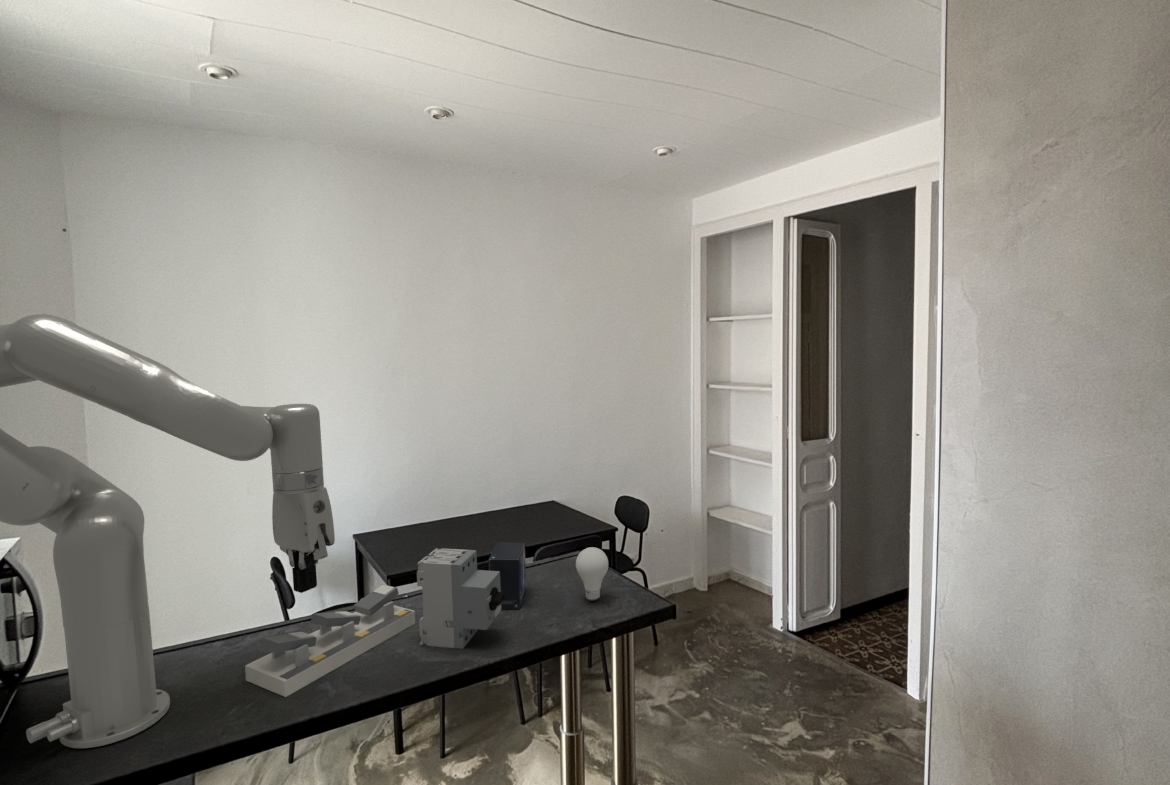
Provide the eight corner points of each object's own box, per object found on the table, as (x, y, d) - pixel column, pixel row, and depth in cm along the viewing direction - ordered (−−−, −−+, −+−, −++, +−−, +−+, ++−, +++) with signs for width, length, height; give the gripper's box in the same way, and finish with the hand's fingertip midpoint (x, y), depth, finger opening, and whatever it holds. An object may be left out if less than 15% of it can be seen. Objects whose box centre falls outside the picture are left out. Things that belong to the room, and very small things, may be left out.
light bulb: (579, 593, 128) (578, 542, 127) (610, 594, 127) (609, 543, 126) (574, 607, 121) (572, 553, 120) (607, 608, 120) (606, 554, 120)
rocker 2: (326, 627, 102) (328, 617, 102) (310, 622, 104) (313, 612, 104) (358, 624, 108) (360, 615, 108) (343, 619, 110) (345, 610, 110)
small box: (521, 610, 121) (519, 558, 120) (488, 610, 121) (486, 559, 120) (527, 588, 131) (525, 541, 130) (497, 589, 131) (495, 541, 130)
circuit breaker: (496, 651, 105) (493, 566, 103) (420, 645, 108) (416, 562, 106) (510, 631, 112) (508, 551, 111) (438, 625, 115) (435, 548, 114)
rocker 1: (276, 652, 94) (278, 641, 94) (260, 646, 96) (262, 636, 96) (315, 646, 100) (316, 635, 100) (299, 640, 102) (301, 630, 102)
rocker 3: (370, 616, 110) (368, 608, 110) (355, 611, 112) (353, 604, 112) (398, 594, 116) (397, 586, 116) (383, 590, 118) (382, 583, 118)
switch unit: (285, 697, 92) (283, 663, 92) (246, 680, 97) (243, 648, 97) (415, 623, 116) (414, 596, 115) (378, 613, 121) (376, 587, 120)
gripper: (348, 479, 99) (355, 589, 100) (290, 471, 106) (297, 573, 108) (307, 489, 92) (315, 606, 94) (248, 480, 99) (256, 589, 101)
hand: (305, 588), depth 101 cm, fingers closed
